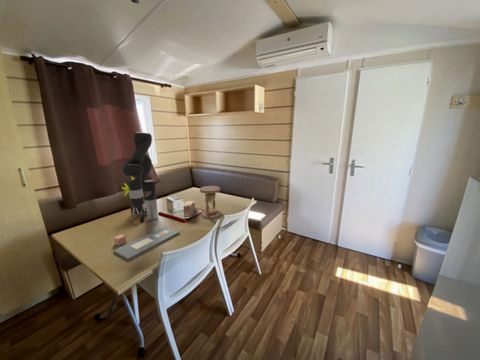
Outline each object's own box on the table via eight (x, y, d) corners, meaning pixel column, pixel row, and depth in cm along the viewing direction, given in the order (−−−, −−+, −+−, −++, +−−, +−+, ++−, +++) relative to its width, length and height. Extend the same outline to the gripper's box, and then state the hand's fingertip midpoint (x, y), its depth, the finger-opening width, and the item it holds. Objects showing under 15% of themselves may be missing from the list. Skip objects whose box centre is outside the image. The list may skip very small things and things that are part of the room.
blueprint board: (113, 252, 124) (113, 249, 124) (165, 228, 156) (164, 226, 155) (128, 260, 116) (128, 257, 116) (179, 233, 147) (179, 231, 147)
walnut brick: (130, 225, 124) (129, 217, 123) (142, 218, 133) (141, 211, 132) (137, 226, 123) (136, 218, 122) (148, 219, 132) (147, 212, 131)
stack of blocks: (188, 210, 193) (187, 197, 190) (195, 209, 193) (194, 197, 190) (184, 219, 172) (183, 205, 169) (191, 219, 172) (190, 205, 169)
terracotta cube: (114, 244, 134) (113, 237, 133) (122, 240, 138) (121, 234, 137) (118, 246, 131) (117, 239, 130) (126, 242, 135) (125, 236, 134)
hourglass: (213, 221, 168) (212, 192, 163) (196, 216, 177) (195, 189, 171) (224, 213, 183) (224, 187, 178) (209, 210, 192) (208, 184, 186)
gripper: (123, 195, 125) (127, 221, 128) (137, 199, 117) (141, 226, 121) (135, 192, 131) (138, 217, 135) (149, 196, 124) (152, 222, 127)
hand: (139, 221), depth 128 cm, fingers closed on walnut brick, 5 cm apart
